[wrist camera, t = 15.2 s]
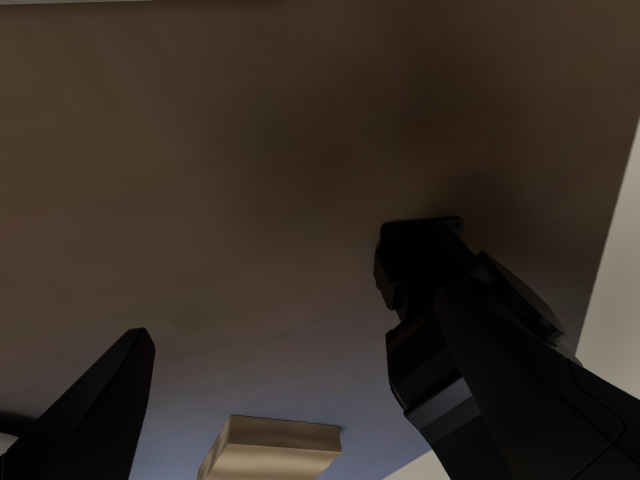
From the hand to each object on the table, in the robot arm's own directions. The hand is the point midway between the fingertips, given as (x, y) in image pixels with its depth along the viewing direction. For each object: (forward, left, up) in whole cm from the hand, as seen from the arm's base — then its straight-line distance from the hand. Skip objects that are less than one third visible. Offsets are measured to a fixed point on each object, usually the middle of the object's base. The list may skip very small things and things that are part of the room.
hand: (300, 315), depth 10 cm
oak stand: (+6, +38, -13) cm, 41 cm away
